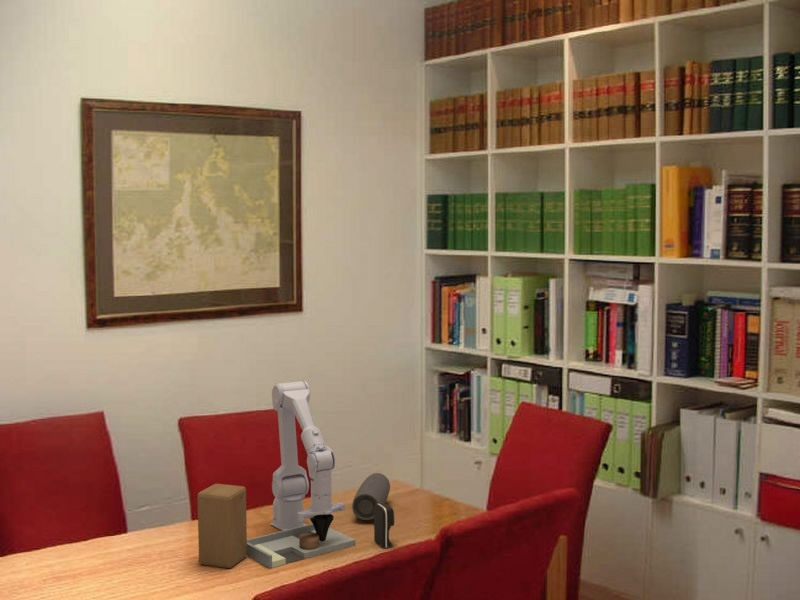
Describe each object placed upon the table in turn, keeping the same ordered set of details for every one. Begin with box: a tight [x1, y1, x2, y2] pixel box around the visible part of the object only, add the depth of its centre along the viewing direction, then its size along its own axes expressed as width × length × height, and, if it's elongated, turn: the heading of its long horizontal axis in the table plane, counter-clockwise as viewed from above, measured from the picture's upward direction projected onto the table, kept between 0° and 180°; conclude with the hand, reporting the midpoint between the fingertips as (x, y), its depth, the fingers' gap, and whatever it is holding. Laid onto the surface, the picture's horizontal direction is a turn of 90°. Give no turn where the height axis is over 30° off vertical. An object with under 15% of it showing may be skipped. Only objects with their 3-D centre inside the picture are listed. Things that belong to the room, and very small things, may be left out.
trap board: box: [246, 522, 356, 569], centre depth 277 cm, size 15×28×3 cm, turn 128°
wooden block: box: [197, 483, 248, 569], centre depth 267 cm, size 10×10×20 cm
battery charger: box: [373, 503, 395, 549], centre depth 280 cm, size 7×4×11 cm, turn 25°
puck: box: [299, 533, 319, 550], centre depth 274 cm, size 6×6×3 cm
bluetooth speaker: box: [351, 472, 391, 521], centre depth 308 cm, size 23×9×10 cm, turn 172°
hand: (321, 540), depth 277 cm, fingers closed
